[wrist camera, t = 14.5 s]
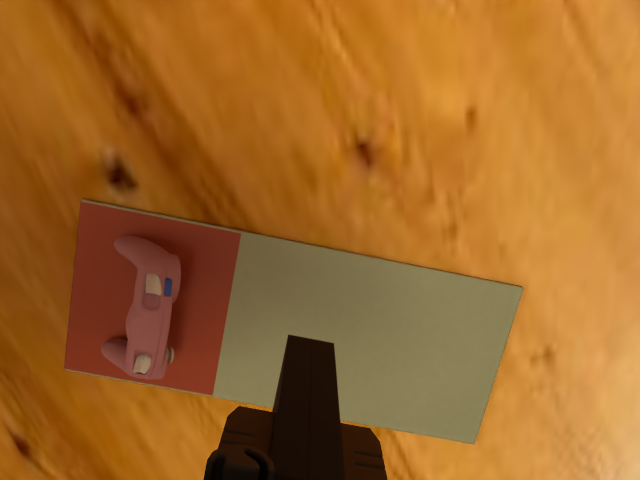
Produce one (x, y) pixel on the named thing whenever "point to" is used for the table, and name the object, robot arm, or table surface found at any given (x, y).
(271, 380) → the placemat
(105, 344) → the video game controller
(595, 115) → the table surface
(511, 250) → the table surface
